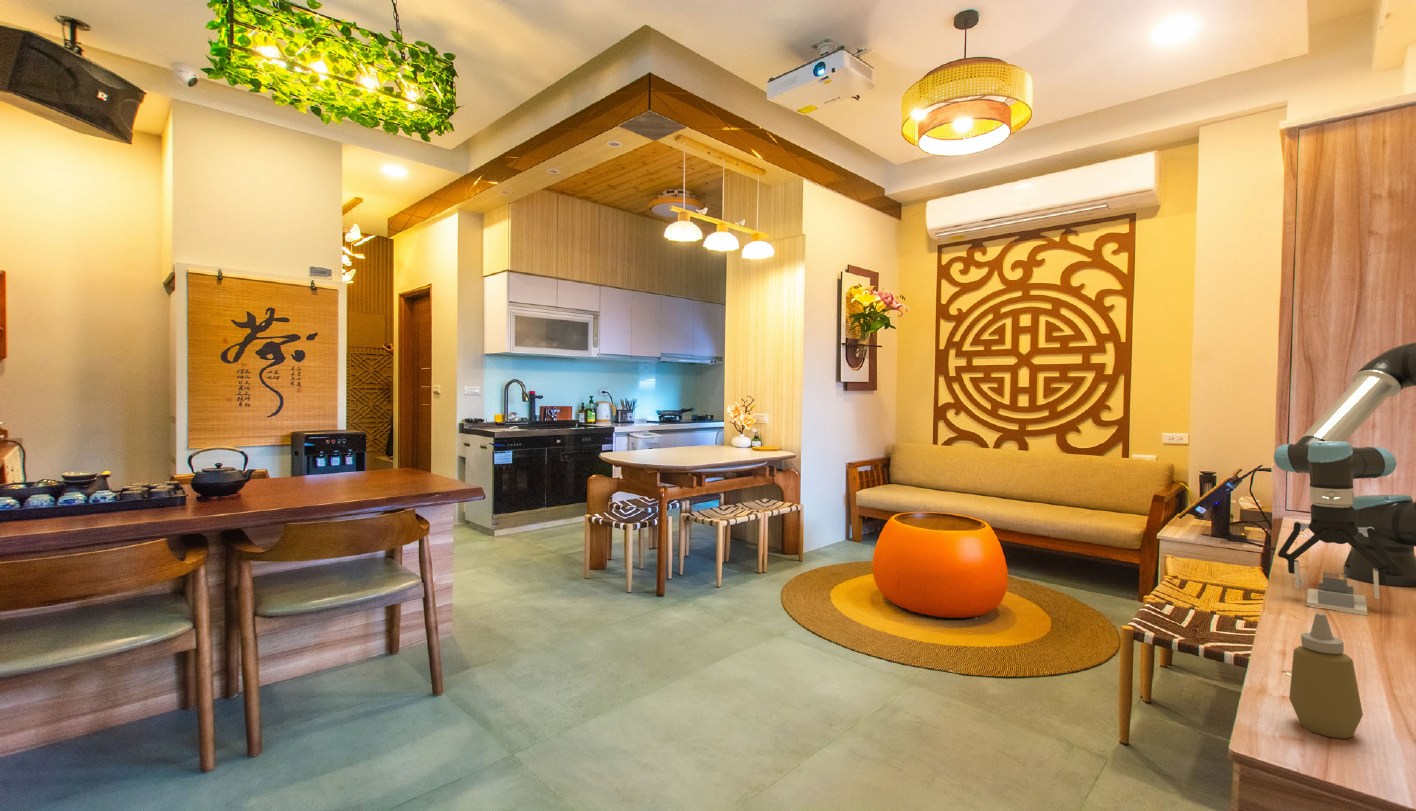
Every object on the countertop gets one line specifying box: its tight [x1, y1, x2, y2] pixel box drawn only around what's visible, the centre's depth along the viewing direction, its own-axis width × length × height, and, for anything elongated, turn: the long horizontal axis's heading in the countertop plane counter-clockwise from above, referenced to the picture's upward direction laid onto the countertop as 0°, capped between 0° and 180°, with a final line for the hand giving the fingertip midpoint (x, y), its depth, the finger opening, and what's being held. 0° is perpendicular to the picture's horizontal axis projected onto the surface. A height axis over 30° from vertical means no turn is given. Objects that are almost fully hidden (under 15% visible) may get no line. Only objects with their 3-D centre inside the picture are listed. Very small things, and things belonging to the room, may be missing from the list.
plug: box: [1322, 571, 1348, 594], centre depth 148 cm, size 6×4×6 cm, turn 134°
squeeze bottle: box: [1289, 612, 1364, 739], centre depth 95 cm, size 8×8×18 cm
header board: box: [1306, 581, 1368, 616], centre depth 149 cm, size 14×10×4 cm
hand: (1335, 592), depth 148 cm, fingers open, 13 cm apart
